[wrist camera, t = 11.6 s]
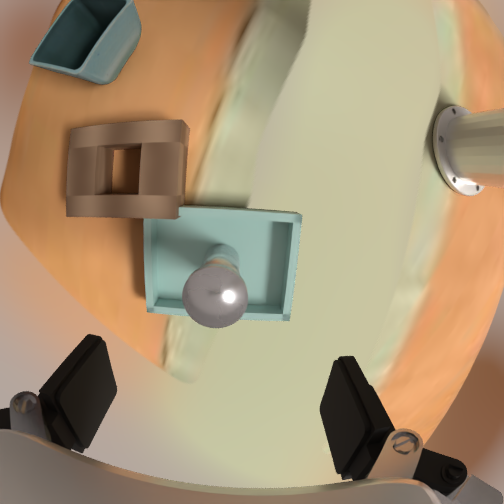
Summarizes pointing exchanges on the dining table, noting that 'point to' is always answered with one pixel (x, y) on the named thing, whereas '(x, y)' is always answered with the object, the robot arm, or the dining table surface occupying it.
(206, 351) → the dining table surface
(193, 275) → the pin
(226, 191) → the dining table surface
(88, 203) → the socket block
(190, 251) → the tray
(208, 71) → the dining table surface
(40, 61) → the flower pot
